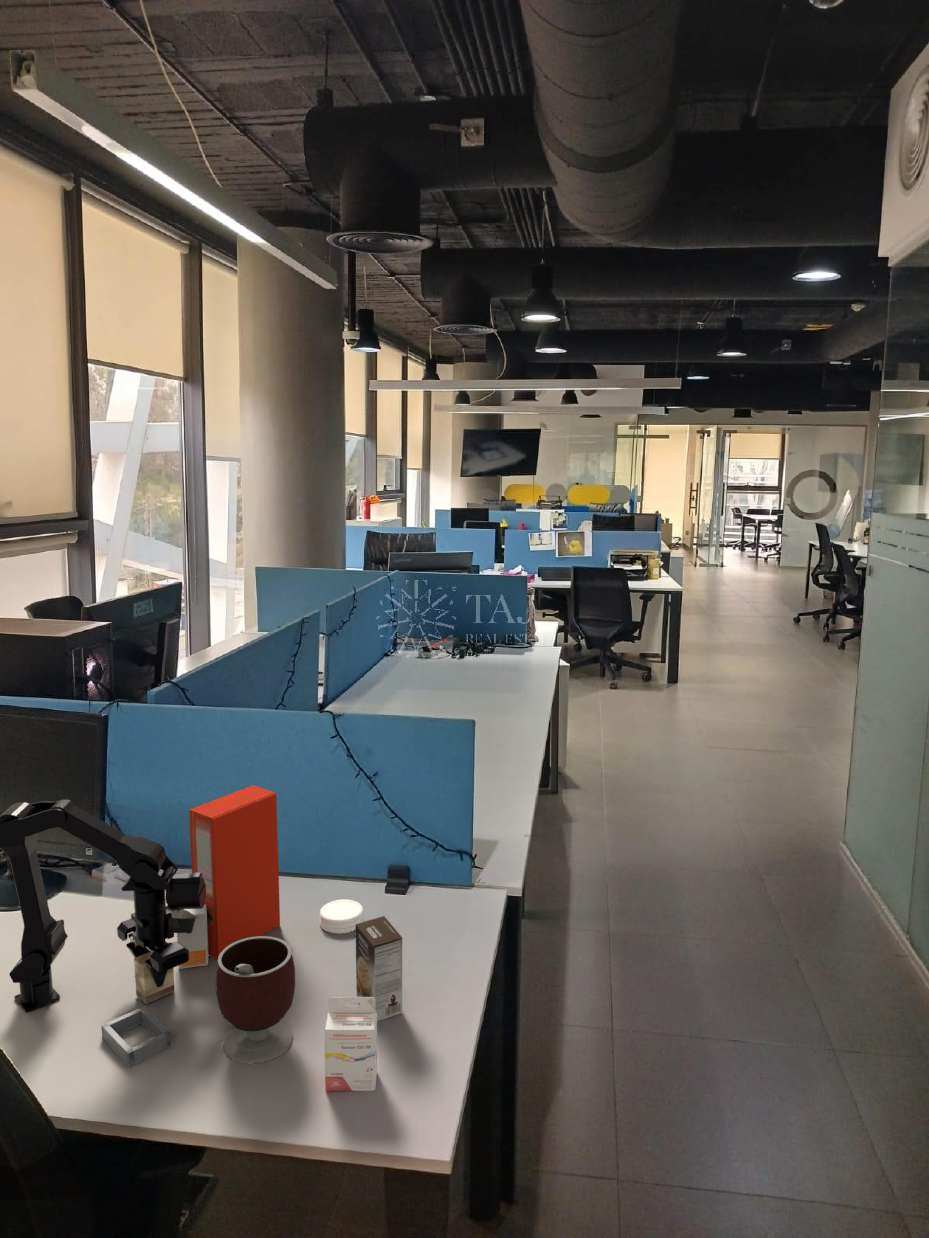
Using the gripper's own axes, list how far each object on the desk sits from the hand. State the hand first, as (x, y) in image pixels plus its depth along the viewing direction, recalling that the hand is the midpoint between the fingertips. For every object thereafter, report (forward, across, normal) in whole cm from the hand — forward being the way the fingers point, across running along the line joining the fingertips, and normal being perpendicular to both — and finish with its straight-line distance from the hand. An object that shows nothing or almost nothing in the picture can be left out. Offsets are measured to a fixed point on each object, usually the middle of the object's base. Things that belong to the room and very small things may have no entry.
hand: (154, 981), depth 172 cm
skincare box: (+3, +5, -11) cm, 12 cm away
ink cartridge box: (+3, -47, -12) cm, 49 cm away
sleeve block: (+3, 0, 0) cm, 3 cm away
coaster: (+3, -4, -43) cm, 43 cm away
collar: (+3, -11, +9) cm, 14 cm away
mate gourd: (+3, -27, -6) cm, 28 cm away
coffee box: (+3, -34, -29) cm, 45 cm away
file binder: (+3, +7, -23) cm, 24 cm away
